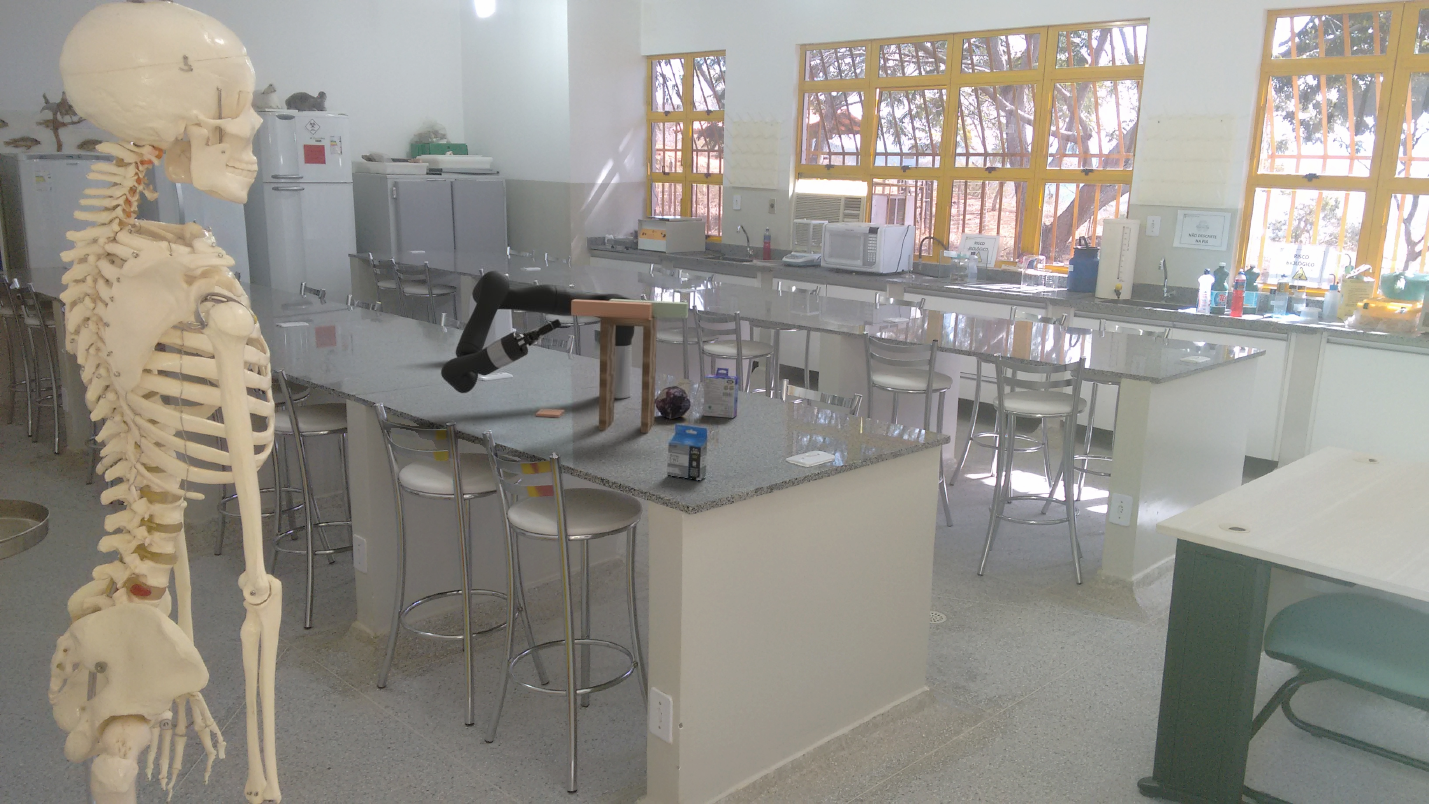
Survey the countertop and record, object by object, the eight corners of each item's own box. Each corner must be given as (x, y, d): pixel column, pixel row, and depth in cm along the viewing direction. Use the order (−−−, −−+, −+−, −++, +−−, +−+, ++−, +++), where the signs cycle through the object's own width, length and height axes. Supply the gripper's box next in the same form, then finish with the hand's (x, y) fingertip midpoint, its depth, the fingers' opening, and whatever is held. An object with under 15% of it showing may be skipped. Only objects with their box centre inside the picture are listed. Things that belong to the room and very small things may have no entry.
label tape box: (666, 476, 249) (667, 426, 246) (673, 472, 252) (675, 423, 250) (699, 481, 245) (701, 431, 243) (706, 477, 249) (708, 428, 246)
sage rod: (611, 312, 296) (611, 298, 295) (687, 316, 294) (688, 302, 294) (608, 314, 292) (609, 300, 292) (686, 318, 290) (686, 304, 290)
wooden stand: (607, 420, 304) (608, 312, 297) (654, 423, 303) (657, 314, 296) (598, 430, 292) (600, 317, 286) (647, 432, 291) (650, 319, 285)
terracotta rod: (574, 313, 292) (574, 299, 291) (651, 317, 290) (652, 303, 289) (571, 315, 288) (571, 300, 287) (649, 319, 286) (649, 304, 285)
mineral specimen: (650, 407, 316) (664, 377, 315) (681, 421, 317) (695, 392, 316) (649, 413, 307) (664, 382, 305) (681, 427, 308) (696, 397, 306)
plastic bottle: (491, 355, 407) (491, 284, 402) (519, 360, 399) (519, 287, 393) (462, 360, 395) (461, 286, 390) (489, 365, 387) (489, 290, 381)
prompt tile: (541, 411, 313) (541, 408, 313) (564, 412, 313) (564, 409, 312) (535, 416, 306) (535, 413, 306) (558, 417, 306) (558, 414, 306)
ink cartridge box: (737, 414, 319) (739, 368, 316) (734, 418, 313) (736, 371, 310) (706, 412, 321) (708, 366, 318) (702, 416, 315) (704, 369, 312)
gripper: (493, 342, 286) (543, 315, 283) (508, 334, 300) (555, 309, 297) (506, 365, 287) (556, 339, 284) (520, 357, 301) (568, 332, 298)
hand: (556, 323), depth 291 cm, fingers open, 8 cm apart
